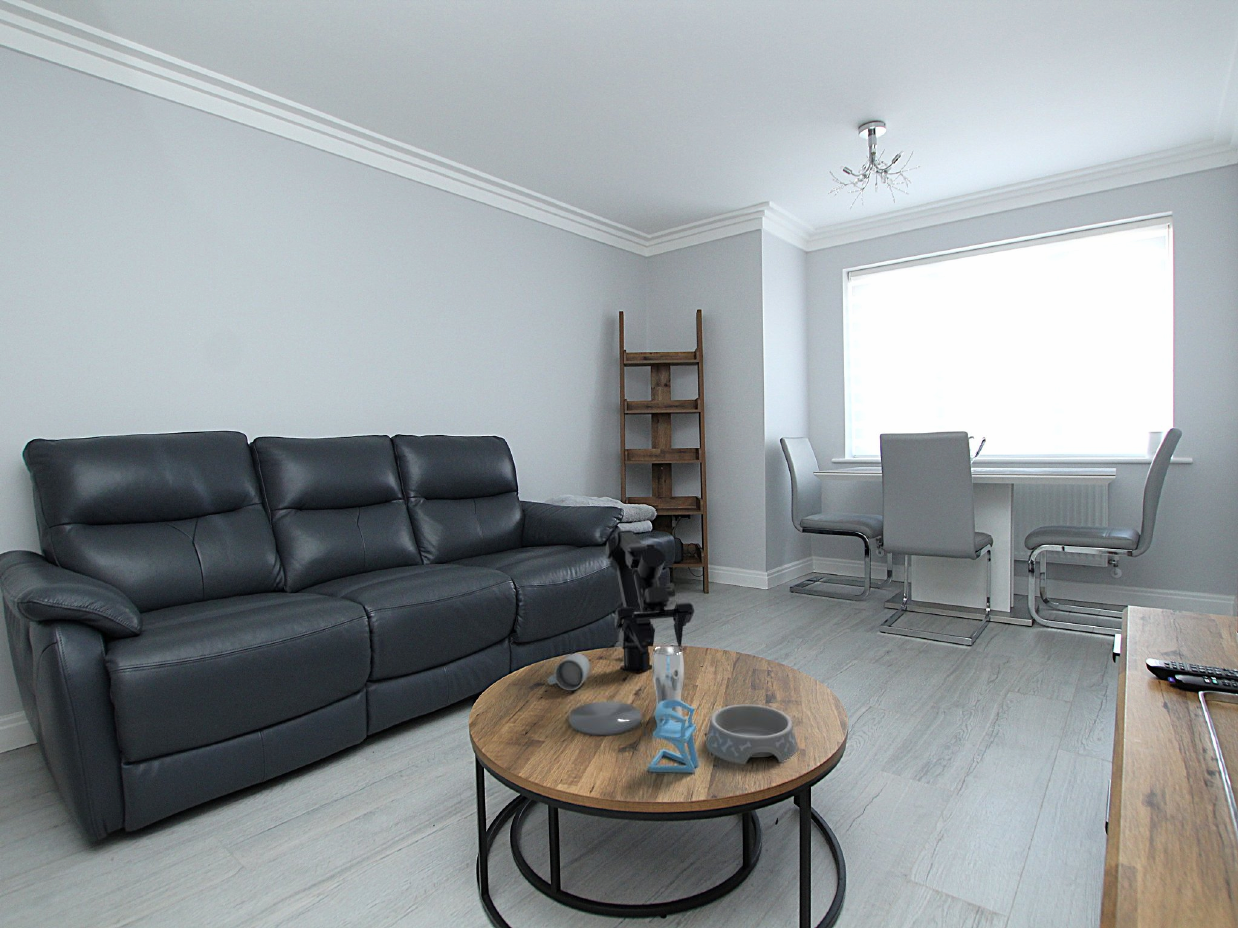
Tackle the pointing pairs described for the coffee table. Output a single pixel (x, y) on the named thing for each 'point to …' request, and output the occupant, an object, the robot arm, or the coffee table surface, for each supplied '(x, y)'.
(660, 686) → the chrome tumbler cup
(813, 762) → the coffee table surface
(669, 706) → the chair
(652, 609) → the robot arm
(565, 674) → the ceramic mug
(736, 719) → the dog bowl
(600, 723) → the coaster board
